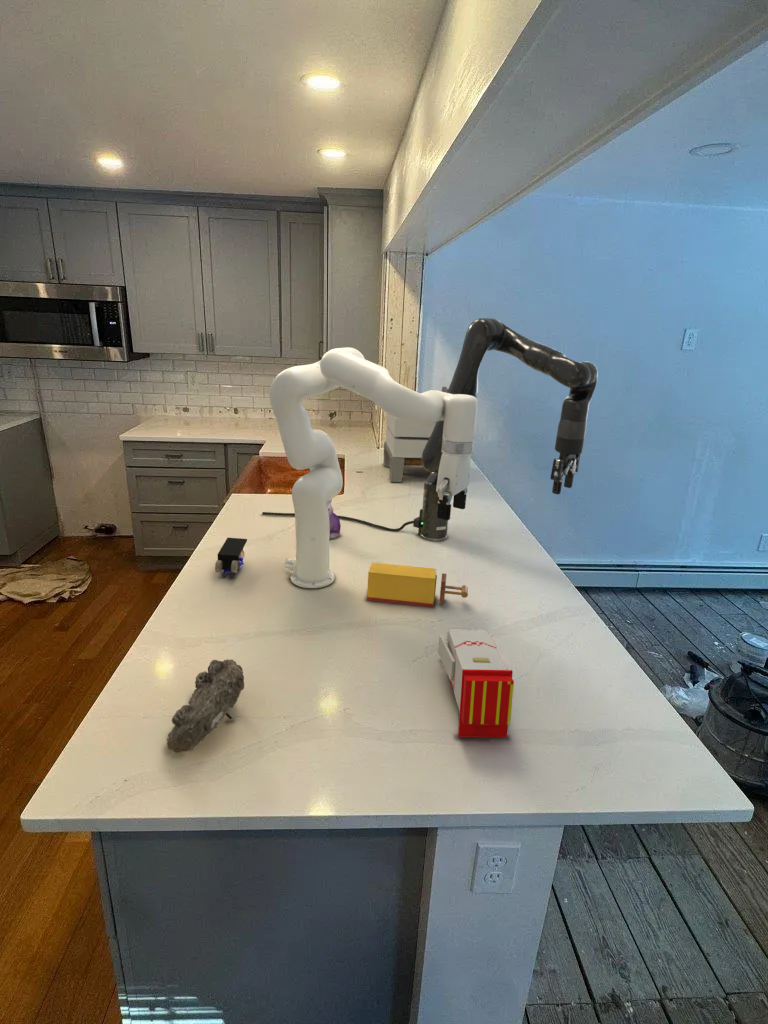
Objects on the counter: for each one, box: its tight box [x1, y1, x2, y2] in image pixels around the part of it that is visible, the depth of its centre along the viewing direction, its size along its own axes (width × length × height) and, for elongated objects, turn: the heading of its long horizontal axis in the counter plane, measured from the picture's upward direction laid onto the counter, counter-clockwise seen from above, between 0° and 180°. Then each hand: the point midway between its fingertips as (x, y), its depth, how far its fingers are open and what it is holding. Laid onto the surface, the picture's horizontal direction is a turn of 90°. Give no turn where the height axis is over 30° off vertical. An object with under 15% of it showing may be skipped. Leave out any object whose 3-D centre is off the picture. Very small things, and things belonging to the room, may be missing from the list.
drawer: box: [434, 573, 469, 605], centre depth 153 cm, size 23×5×7 cm, turn 82°
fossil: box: [166, 658, 245, 754], centre depth 106 cm, size 22×10×15 cm
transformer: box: [383, 386, 449, 483], centre depth 268 cm, size 34×33×41 cm
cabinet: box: [366, 562, 438, 608], centre depth 154 cm, size 18×6×8 cm, turn 82°
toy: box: [437, 628, 515, 738], centre depth 117 cm, size 12×13×30 cm
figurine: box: [326, 498, 342, 539], centre depth 193 cm, size 9×10×15 cm
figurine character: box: [214, 537, 248, 578], centre depth 166 cm, size 7×8×15 cm
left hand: (451, 513), depth 142 cm, fingers open, 9 cm apart
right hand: (561, 490), depth 164 cm, fingers open, 8 cm apart
